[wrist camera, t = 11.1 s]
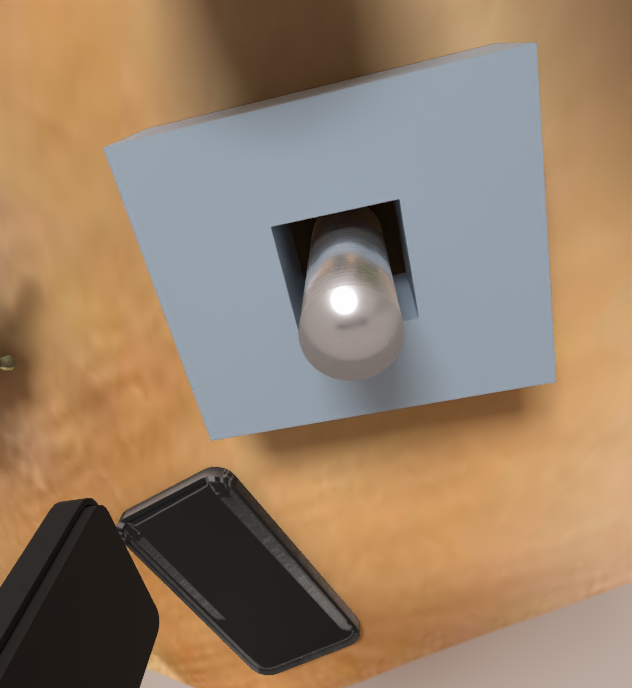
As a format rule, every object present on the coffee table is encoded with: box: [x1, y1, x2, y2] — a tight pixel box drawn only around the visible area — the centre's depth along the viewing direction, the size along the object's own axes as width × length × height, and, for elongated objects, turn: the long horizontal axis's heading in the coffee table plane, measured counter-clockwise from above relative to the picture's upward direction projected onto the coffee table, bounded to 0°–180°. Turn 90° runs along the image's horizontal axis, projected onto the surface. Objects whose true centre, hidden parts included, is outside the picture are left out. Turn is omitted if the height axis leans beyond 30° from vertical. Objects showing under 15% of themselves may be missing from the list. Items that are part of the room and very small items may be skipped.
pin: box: [298, 206, 404, 381], centre depth 21 cm, size 3×3×10 cm
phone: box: [116, 467, 360, 675], centre depth 35 cm, size 8×1×15 cm
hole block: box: [103, 42, 556, 441], centre depth 24 cm, size 14×12×5 cm
